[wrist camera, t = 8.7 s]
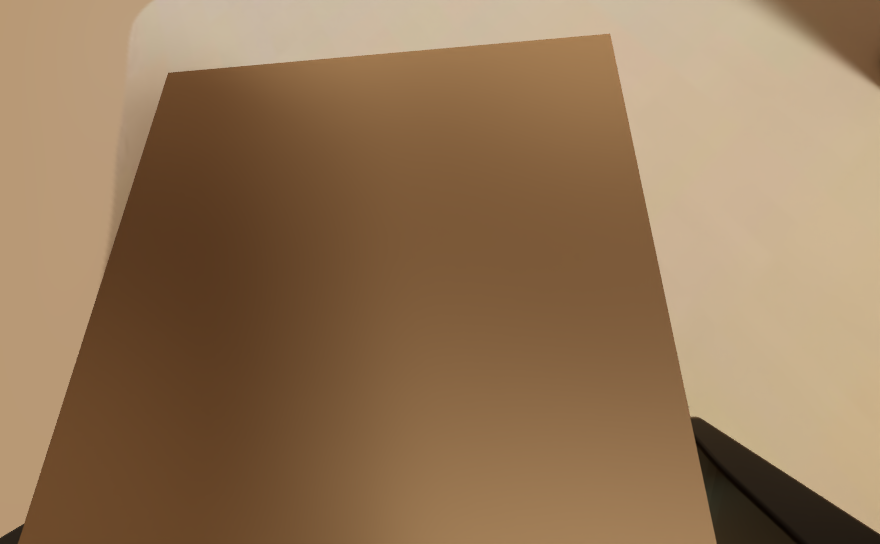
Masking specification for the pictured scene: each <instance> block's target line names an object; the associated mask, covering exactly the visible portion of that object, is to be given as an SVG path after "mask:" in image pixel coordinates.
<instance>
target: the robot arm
mask: <svg viewBox="0 0 880 544" xmlns="http://www.w3.org/2000/svg"><path fill="white" fill-rule="evenodd" d="M690 418H691V423H692V428H693V433H694V438H695V442H696V447H697V452H698V457H699V461H700V466H701V471H702V476H703V480H704V485H705V490H706V495H707V500H708V504H709V509H710V514H711V519H712V523H713V528H714V533H715V538H716V543H717V544H880V534H879V533H877V532H876V531H874V530H873V529H871V528H869V527H868V526H866V525H865V524H863V523H862V522H860V521H859V520H857V519H856V518H854V517H852V516H851V515H849V514H848V513H846V512H845V511H843V510H842V509H840V508H839V507H837V506H835V505H834V504H832V503H831V502H829V501H828V500H826V499H825V498H823V497H822V496H820V495H819V494H817V493H815V492H814V491H812V490H811V489H809V488H808V487H806V486H805V485H803V484H802V483H800V482H798V481H797V480H795V479H794V478H792V477H791V476H789V475H788V474H786V473H785V472H783V471H781V470H780V469H778V468H777V467H775V466H774V465H772V464H771V463H769V462H768V461H766V460H764V459H763V458H761V457H760V456H758V455H757V454H755V453H754V452H752V451H751V450H749V449H748V448H746V447H744V446H743V445H741V444H740V443H738V442H737V441H735V440H734V439H732V438H731V437H729V436H727V435H726V434H724V433H723V432H721V431H720V430H718V429H717V428H715V427H714V426H712V425H710V424H709V423H707V422H706V421H704V420H703V419H701V418H699V417H690ZM23 526H24V524H23V525H21V526H19V527H18V528H16V529H15V530H13V531H11V532H9V533H8V534H6V535H4V536H3V537H1V538H0V544H18V542H19V539H20V536H21V533H22V530H23Z"/></svg>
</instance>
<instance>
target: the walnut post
mask: <svg viewBox="0 0 880 544" xmlns="http://www.w3.org/2000/svg"><path fill="white" fill-rule="evenodd" d="M18 544H717V543H716V538H715V533H714V528H713V523H712V519H711V514H710V509H709V504H708V500H707V495H706V490H705V485H704V480H703V476H702V471H701V466H700V461H699V457H698V452H697V447H696V442H695V438H694V433H693V428H692V423H691V418H690V414H689V409H688V404H687V399H686V395H685V390H684V385H683V380H682V375H681V371H680V366H679V361H678V356H677V352H676V347H675V342H674V337H673V332H672V328H671V323H670V318H669V313H668V309H667V304H666V299H665V294H664V289H663V285H662V280H661V275H660V270H659V266H658V261H657V256H656V251H655V247H654V242H653V237H652V232H651V227H650V223H649V218H648V213H647V208H646V204H645V199H644V194H643V189H642V184H641V180H640V175H639V170H638V165H637V161H636V156H635V151H634V146H633V141H632V137H631V132H630V127H629V122H628V118H627V113H626V108H625V103H624V98H623V94H622V89H621V84H620V79H619V75H618V70H617V65H616V60H615V55H614V51H613V46H612V41H611V36H610V34H602V35H591V36H580V37H568V38H557V39H546V40H534V41H523V42H512V43H501V44H489V45H478V46H467V47H455V48H444V49H433V50H422V51H410V52H399V53H388V54H376V55H365V56H354V57H343V58H331V59H320V60H309V61H297V62H286V63H275V64H263V65H252V66H241V67H230V68H218V69H207V70H196V71H184V72H173V73H168V75H167V79H166V82H165V85H164V88H163V91H162V94H161V97H160V101H159V104H158V107H157V110H156V113H155V116H154V119H153V122H152V126H151V129H150V132H149V135H148V138H147V141H146V144H145V148H144V151H143V154H142V157H141V160H140V163H139V166H138V169H137V173H136V176H135V179H134V182H133V185H132V188H131V191H130V195H129V198H128V201H127V204H126V207H125V210H124V213H123V216H122V220H121V223H120V226H119V229H118V232H117V235H116V238H115V241H114V245H113V248H112V251H111V254H110V257H109V260H108V263H107V267H106V270H105V273H104V276H103V279H102V282H101V285H100V288H99V292H98V295H97V298H96V301H95V304H94V307H93V310H92V314H91V317H90V320H89V323H88V326H87V329H86V332H85V335H84V339H83V342H82V345H81V349H80V351H79V355H78V357H77V361H76V364H75V367H74V370H73V373H72V376H71V379H70V382H69V386H68V389H67V392H66V395H65V398H64V401H63V405H62V408H61V411H60V414H59V417H58V420H57V423H56V426H55V430H54V433H53V436H52V439H51V442H50V445H49V448H48V451H47V454H46V458H45V461H44V464H43V467H42V470H41V473H40V476H39V480H38V483H37V486H36V489H35V492H34V495H33V498H32V501H31V505H30V508H29V511H28V514H27V517H26V521H25V523H24V526H23V530H22V533H21V536H20V539H19V542H18Z"/></svg>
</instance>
